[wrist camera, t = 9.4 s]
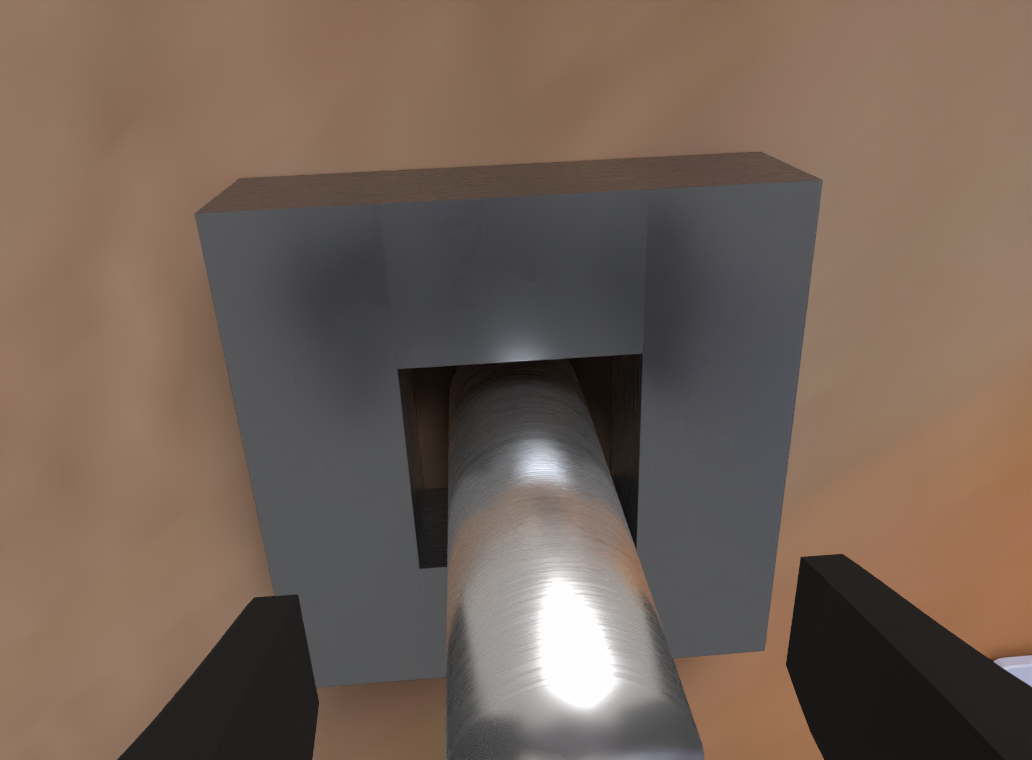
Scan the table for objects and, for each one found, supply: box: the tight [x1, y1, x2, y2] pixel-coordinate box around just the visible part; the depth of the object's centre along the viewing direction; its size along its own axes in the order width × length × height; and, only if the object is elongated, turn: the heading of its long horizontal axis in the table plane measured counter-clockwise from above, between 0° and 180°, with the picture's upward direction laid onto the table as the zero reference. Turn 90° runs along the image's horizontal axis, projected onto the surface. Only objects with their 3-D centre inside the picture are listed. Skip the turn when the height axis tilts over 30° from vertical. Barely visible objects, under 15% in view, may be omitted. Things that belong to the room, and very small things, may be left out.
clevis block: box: [195, 152, 823, 688], centre depth 17 cm, size 10×10×3 cm
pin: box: [445, 358, 704, 760], centre depth 14 cm, size 3×3×10 cm
